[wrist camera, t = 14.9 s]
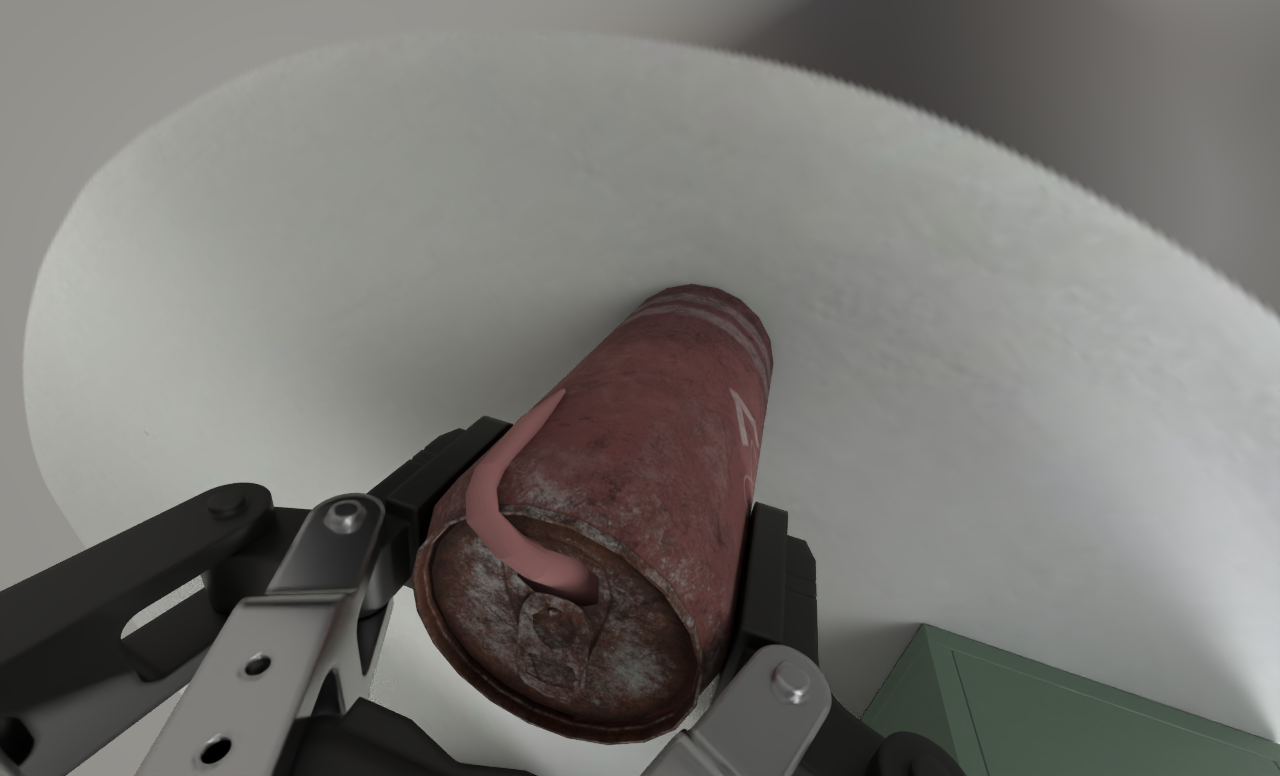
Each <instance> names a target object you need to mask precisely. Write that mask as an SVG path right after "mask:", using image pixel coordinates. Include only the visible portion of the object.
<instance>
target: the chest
mask: <svg viewBox="0 0 1280 776" xmlns="http://www.w3.org/2000/svg"><path fill="white" fill-rule="evenodd" d="M860 721H862V722H863V723H865V724H866V725H867V726H869V727H870V728H872V729H873V730H874V731H876V732H877V733H879V734H880V735H882V736H883V737H884V738H886V737H887V736H889V735H890V734H892V733H895V732H899V731H907V732H913V733H916V734H919V735H921V736H923V737H925V738H928V739H929V740H931V741H933V742H934V743H936V744H937V745H938V746H940V747H941V748H942V749H943V750H945V751H946V752H947V753H948V754H949V755H950V756H951V757H952V758H953V759H954V760H955V761H956V763H957V764H958V765H959V766H960V767H961V769H962V770H963V772H964V773H965V774H966V776H1280V744H1277V743H1275V742H1272V741H1269V740H1266V739H1263V738H1260V737H1257V736H1254V735H1251V734H1248V733H1245V732H1242V731H1239V730H1236V729H1233V728H1230V727H1227V726H1224V725H1221V724H1218V723H1216V722H1213V721H1210V720H1207V719H1204V718H1201V717H1198V716H1195V715H1192V714H1189V713H1186V712H1183V711H1180V710H1177V709H1174V708H1171V707H1168V706H1165V705H1162V704H1159V703H1156V702H1154V701H1151V700H1148V699H1145V698H1142V697H1139V696H1136V695H1133V694H1130V693H1127V692H1124V691H1121V690H1118V689H1115V688H1112V687H1109V686H1106V685H1103V684H1100V683H1097V682H1095V681H1092V680H1089V679H1086V678H1083V677H1080V676H1077V675H1074V674H1071V673H1068V672H1065V671H1062V670H1059V669H1056V668H1053V667H1050V666H1047V665H1044V664H1041V663H1038V662H1036V661H1033V660H1030V659H1027V658H1024V657H1021V656H1018V655H1015V654H1012V653H1009V652H1006V651H1003V650H1000V649H997V648H994V647H991V646H988V645H985V644H982V643H979V642H977V641H974V640H971V639H968V638H965V637H962V636H959V635H956V634H953V633H950V632H947V631H944V630H941V629H938V628H935V627H932V626H929V625H926V624H922V626H921V627H920V629H919V630H918V632H917V633H916V635H915V636H914V638H913V639H912V641H911V643H910V644H909V646H908V647H907V649H906V650H905V652H904V653H903V655H902V656H901V658H900V660H899V661H898V663H897V664H896V666H895V667H894V669H893V670H892V672H891V673H890V675H889V677H888V678H887V680H886V681H885V683H884V684H883V686H882V687H881V689H880V690H879V692H878V694H877V695H876V697H875V698H874V700H873V701H872V703H871V704H870V706H869V707H868V709H867V711H866V712H865V714H864V715H863V717H862V718H861V720H860Z"/></svg>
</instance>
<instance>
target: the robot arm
mask: <svg viewBox="0 0 1280 776" xmlns="http://www.w3.org/2000/svg"><path fill="white" fill-rule="evenodd" d="M512 426H513V424H511V423H508V422H504V421H501V420H498V419H495V418H492V417H489V416H483V417H481V418H480V419H479V420H478V421H476V422H475V423H474V424H473V425H472V426H470V427H469V428H468V429H467V430H464V429H461V428H459V429H456V430H453V431H451V432H448V433H446V434H443V435H440V436H439V437H437V438H436V439H435V440H434V441H432V442H431V443H430V444H429V445H427V446H426V447H425V449H424V450H421V451H420V452H418V453H417V454H416V455H415V456H413V458H412V460H408V461H407V462H406V463H405V464H403V465H402V466H401V467H399V468H398V469H397V470H396V471H394V472H393V473H392V474H391V475H389V476H388V477H387V478H386V479H384V480H383V481H382V482H381V483H379V484H378V485H377V486H375V487H374V488H373V489H372V490H370V491H369V492H368V493H367V494H363V493H349V494H343V495H339V496H335V497H332V498H330V499H327V500H325V501H323V502H322V503H320V504H318V505H317V506H316V507H314V508H313V509H312V510H309V509H297V508H284V507H274V505H273V501H272V496H271V493H270V491H269V490H268V489H267V488H265V487H264V486H261V485H259V484H254V483H233V484H227V485H223V486H219V487H216V488H213V489H210V490H208V491H206V492H204V493H202V494H200V495H198V496H195V497H193V498H191V499H189V500H187V501H185V502H183V503H181V504H179V505H177V506H175V507H173V508H171V509H169V510H167V511H165V512H163V513H161V514H159V515H157V516H154V517H152V518H150V519H148V520H146V521H144V522H142V523H140V524H138V525H136V526H134V527H132V528H130V529H128V530H126V531H124V532H122V533H120V534H118V535H115V536H113V537H111V538H109V539H107V540H105V541H103V542H101V543H99V544H97V545H95V546H93V547H91V548H89V549H87V550H85V551H83V552H81V553H79V554H77V555H75V556H72V557H70V558H68V559H66V560H65V561H62V562H60V563H58V564H56V565H54V566H52V567H50V568H48V569H46V570H44V571H42V572H40V573H38V574H36V575H34V576H31V577H30V578H27V579H25V580H23V581H21V582H19V583H17V584H15V585H13V586H11V587H9V588H7V589H5V590H3V591H1V592H0V776H66V775H67V774H68V773H70V772H71V771H72V770H74V769H75V768H76V767H78V766H79V765H80V764H82V763H83V762H84V761H86V760H87V759H88V758H90V757H91V756H92V755H94V754H95V753H96V752H98V751H99V750H100V749H102V748H103V747H104V746H106V745H107V744H108V743H110V742H111V741H112V740H114V739H115V738H116V737H117V736H119V735H120V734H121V733H123V732H124V731H125V730H127V729H128V728H130V727H131V726H132V725H134V724H135V723H136V722H138V721H139V720H140V719H141V718H143V717H144V716H145V715H147V714H148V713H149V712H151V711H152V710H153V709H155V708H156V707H157V706H159V705H160V704H161V703H163V702H164V701H165V700H167V699H168V698H169V697H171V696H172V695H173V694H175V693H176V692H177V691H179V690H180V689H181V688H183V687H184V686H185V685H187V684H188V683H189V682H190V683H189V685H188V686H187V688H186V690H185V691H184V693H183V695H182V697H181V698H180V700H179V702H178V703H177V705H176V707H175V708H174V710H173V712H172V713H171V715H170V717H169V718H168V720H167V722H166V723H165V725H164V727H163V728H162V730H161V732H160V733H159V735H158V737H157V738H156V740H155V742H154V743H153V745H152V747H151V748H150V750H149V752H148V754H147V755H146V757H145V759H144V760H143V762H142V763H141V765H140V767H139V769H138V770H137V772H136V774H135V775H134V776H537V775H535V774H532V773H530V772H528V771H524V770H516V769H507V768H498V767H490V766H481V765H472V764H464V763H460V762H457V761H455V760H454V759H453V758H452V757H451V756H449V755H448V754H447V753H446V752H445V751H444V750H443V749H442V748H441V747H440V746H439V745H438V744H437V743H436V742H435V741H434V740H433V739H432V738H430V737H429V736H428V735H427V734H426V733H425V732H424V731H423V730H422V729H421V728H420V727H419V726H418V725H417V724H416V723H415V722H414V721H413V720H411V719H409V718H407V717H405V716H403V715H400V714H398V713H396V712H394V711H391V710H389V709H387V708H385V707H382V706H380V705H378V704H376V703H373V702H371V701H369V700H368V698H369V692H370V687H371V683H372V679H373V676H374V672H375V669H376V665H377V662H378V658H379V655H380V651H381V648H382V644H383V641H384V637H385V634H386V630H387V627H388V623H389V620H390V616H391V613H392V609H393V604H394V601H393V596H394V595H395V594H396V593H397V592H398V591H399V589H400V588H401V587H402V586H403V585H404V586H407V587H409V588H412V589H413V585H412V579H411V578H412V574H413V570H414V566H415V562H416V557H417V553H418V549H419V548H420V547H421V546H422V544H423V543H424V542H425V541H426V538H427V534H428V530H429V526H430V522H431V518H432V514H433V510H434V506H435V505H436V503H437V502H438V501H439V500H440V499H441V498H442V497H443V495H444V494H445V493H446V492H447V491H448V490H449V488H450V487H451V486H452V485H453V484H454V483H455V482H456V480H457V479H458V478H459V477H460V476H461V475H462V474H464V473H465V472H466V471H467V470H468V469H469V468H470V467H471V466H472V465H473V464H474V463H475V462H476V461H477V460H478V459H479V458H480V457H481V456H482V455H484V454H485V453H486V452H487V451H488V450H489V449H490V448H491V447H492V446H493V445H494V444H495V443H496V442H497V441H498V440H499V439H500V438H501V437H502V436H504V435H505V434H506V433H507V432H508V431H509V430H510V429H511V428H512ZM787 528H788V512H787V511H784V510H781V509H778V508H775V507H772V506H769V505H765V504H762V503H759V502H756V503H755V504H754V507H753V510H752V512H751V515H750V521H749V527H748V534H747V541H746V547H745V554H744V560H743V567H742V574H741V580H740V587H739V593H738V600H737V607H736V613H735V620H734V626H733V632H732V637H731V641H730V645H729V649H728V653H727V656H726V659H725V661H724V664H723V667H722V670H721V671H720V673H719V674H718V675H717V676H716V677H715V678H714V684H713V690H712V696H711V702H710V707H709V708H708V710H707V711H706V712H705V713H704V714H703V716H702V717H701V718H700V719H699V720H698V721H697V723H696V724H695V725H694V726H693V727H692V728H691V729H690V730H688V731H687V730H686V729H683V730H681V731H680V732H679V733H677V734H676V735H675V736H674V737H673V738H672V739H671V741H670V742H669V743H668V744H667V745H666V746H665V747H664V749H663V750H662V751H661V752H660V753H659V754H658V755H657V757H656V758H655V759H654V760H653V761H652V762H651V764H650V765H649V766H648V767H647V768H646V769H645V771H644V772H643V773H642V774H641V775H640V776H966V774H965V773H964V772H963V770H962V769H961V767H960V766H959V765H958V764H957V763H956V761H955V760H954V759H953V758H952V757H951V756H950V755H949V754H948V753H947V752H946V751H945V750H943V749H942V748H941V747H940V746H938V745H937V744H936V743H934V742H933V741H931V740H929V739H928V738H925V737H923V736H921V735H919V734H916V733H913V732H907V731H899V732H895V733H892V734H890V735H889V736H887V737H886V738H884V737H883V736H882V735H880V734H879V733H877V732H876V731H874V730H873V729H872V728H870V727H869V726H867V725H866V724H865V723H863V722H862V721H860V720H859V719H857V718H856V717H855V716H853V715H852V714H851V713H849V712H848V711H847V710H846V709H845V708H844V707H843V706H842V705H841V704H840V703H839V702H838V701H837V700H836V699H835V697H834V696H833V695H832V693H831V692H830V688H829V685H828V682H827V680H826V678H825V676H824V675H823V673H822V672H821V670H820V668H819V661H818V628H817V600H816V596H817V594H816V583H815V582H816V560H815V558H814V557H813V555H812V553H811V551H810V549H809V547H808V545H807V543H806V541H804V540H801V539H798V538H795V537H792V536H789V535H787ZM200 574H201V577H202V580H203V583H204V586H205V587H204V588H203V589H201V590H199V591H198V592H196V593H195V594H193V595H192V596H190V597H188V598H187V599H185V600H184V601H182V602H180V603H179V604H177V605H176V606H174V607H172V608H171V609H169V610H168V611H166V612H164V613H163V614H161V615H160V616H158V617H157V618H155V619H153V620H152V621H150V622H149V623H147V624H145V625H144V626H142V627H141V628H139V629H137V630H136V631H134V632H133V633H131V634H130V635H128V636H126V637H125V638H123V639H121V633H122V630H123V628H124V627H125V625H126V624H127V622H128V621H129V620H130V619H131V618H132V617H133V616H134V615H136V614H137V613H138V612H140V611H141V610H143V609H144V608H146V607H148V606H149V605H151V604H153V603H154V602H156V601H158V600H159V599H161V598H162V597H164V596H166V595H167V594H169V593H171V592H172V591H174V590H176V589H177V588H179V587H181V586H182V585H184V584H186V583H187V582H189V581H191V580H192V579H194V578H195V577H197V576H199V575H200Z"/></svg>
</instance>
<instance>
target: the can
mask: <svg viewBox="0 0 1280 776" xmlns="http://www.w3.org/2000/svg"><path fill="white" fill-rule="evenodd" d="M772 369H773V357H772V350H771V342H770V338H769V336H768V335H767V333H766V331H765V329H764V327H763V325H762V323H761V321H760V319H759V317H758V316H757V315H756V314H755V313H754V312H753V311H752V310H751V309H750V308H749V307H748V306H747V305H746V304H745V303H744V302H742V301H741V300H740V299H738V298H736V297H734V296H732V295H730V294H728V293H726V292H724V291H722V290H720V289H718V288H714V287H708V286H701V285H695V284H690V285H684V286H678V287H672V288H667V289H665V290H663V291H661V292H660V293H658V294H656V295H654V296H652V297H650V298H648V299H647V300H646V301H645V302H644V303H643V304H641V305H640V306H639V307H638V308H637V309H636V310H635V311H634V312H633V313H632V314H631V315H630V316H629V317H628V318H627V319H626V320H625V321H624V322H623V323H621V324H620V325H619V326H618V327H617V328H616V329H615V330H614V331H613V332H612V333H611V334H610V335H609V336H608V337H607V338H606V339H605V340H604V341H603V342H601V343H600V344H599V345H598V346H597V347H596V348H595V349H594V350H593V351H592V352H591V353H590V354H589V355H588V356H587V357H586V358H585V359H584V360H583V361H581V362H580V363H579V364H578V365H577V366H576V367H575V368H574V369H573V370H572V371H571V372H570V373H569V374H568V375H567V376H566V377H565V378H564V379H563V380H561V381H560V382H559V383H558V384H557V385H556V386H555V387H554V388H553V389H552V390H551V391H550V392H549V393H548V394H547V395H546V396H545V397H544V398H542V399H541V400H540V401H539V402H538V403H537V404H536V405H535V406H534V407H533V408H532V409H531V410H530V411H529V412H528V413H526V414H525V415H523V416H522V417H520V419H519V420H518V421H517V422H516V423H515V424H514V425H513V426H512V428H511V429H510V430H509V431H508V432H507V433H506V434H505V435H504V436H502V437H501V438H500V439H499V440H498V441H497V442H496V443H495V444H494V445H493V446H492V447H491V448H490V449H489V450H488V451H487V452H486V453H485V454H484V455H482V456H481V457H480V458H479V459H478V460H477V461H476V462H475V463H474V464H473V465H472V466H471V467H470V468H469V469H468V470H467V471H466V472H465V473H464V474H462V475H461V476H460V477H459V478H458V479H457V480H456V482H455V483H454V484H453V485H452V486H451V487H450V488H449V490H448V491H447V492H446V493H445V494H444V495H443V497H442V498H441V499H440V500H439V501H438V502H437V503H436V505H435V506H434V510H433V514H432V518H431V522H430V526H429V530H428V534H427V538H426V541H425V542H424V543H423V544H422V546H421V547H420V548H419V549H418V553H417V557H416V562H415V566H414V570H413V574H412V578H411V579H412V585H413V591H414V597H415V602H416V608H417V612H418V614H419V616H420V618H421V620H422V622H423V624H424V626H425V628H426V630H427V632H428V634H429V636H430V638H431V640H432V642H433V644H434V645H435V646H436V647H437V649H438V650H439V651H440V652H441V653H442V655H443V656H444V657H445V658H446V660H447V661H448V662H449V663H450V664H451V666H452V667H453V668H454V669H455V670H456V672H457V673H458V674H459V675H460V676H461V677H462V678H464V679H465V680H466V681H467V682H468V683H470V684H471V685H472V686H473V687H474V688H476V689H477V690H478V691H479V692H480V693H482V694H483V695H484V696H485V697H486V698H488V699H489V700H490V701H491V702H493V703H495V704H496V705H498V706H500V707H501V708H503V709H505V710H506V711H508V712H510V713H512V714H513V715H515V716H517V717H518V718H520V719H522V720H524V721H525V722H527V723H529V724H532V725H534V726H537V727H540V728H542V729H545V730H548V731H550V732H553V733H555V734H558V735H561V736H563V737H566V738H570V739H576V740H582V741H587V742H593V743H599V744H605V745H614V744H629V743H644V742H647V741H649V740H652V739H654V738H656V737H659V736H661V735H664V734H666V733H668V732H671V731H673V730H676V728H677V727H678V726H679V725H680V724H681V723H682V722H683V721H684V719H685V718H686V717H687V716H688V715H689V714H690V713H691V712H692V711H693V709H694V708H695V707H696V705H697V701H698V696H699V695H700V694H701V693H702V692H703V691H704V690H705V689H706V687H707V686H708V685H709V684H710V683H711V682H712V681H713V679H714V678H715V677H716V676H717V675H718V674H719V673H720V671H721V670H722V667H723V664H724V661H725V659H726V656H727V653H728V649H729V645H730V641H731V637H732V632H733V626H734V620H735V613H736V607H737V600H738V593H739V587H740V580H741V574H742V567H743V560H744V554H745V547H746V541H747V534H748V527H749V521H750V514H751V508H752V501H753V494H754V488H755V481H756V475H757V468H758V461H759V455H760V448H761V442H762V435H763V428H764V422H765V415H766V409H767V402H768V395H769V389H770V382H771V376H772Z"/></svg>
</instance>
